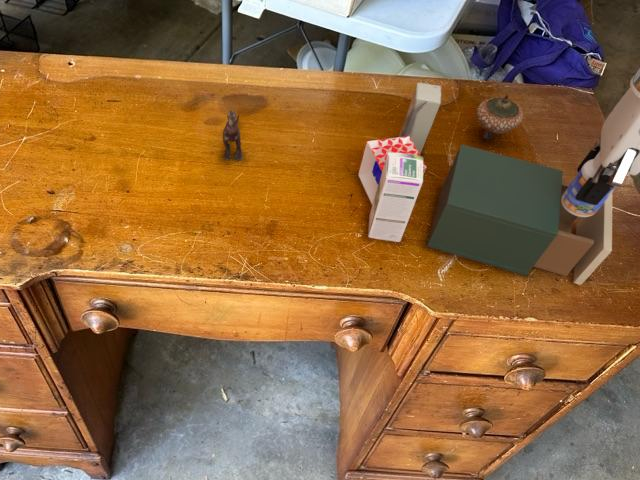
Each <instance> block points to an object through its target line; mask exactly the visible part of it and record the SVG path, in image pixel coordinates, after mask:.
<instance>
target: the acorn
mask: <svg viewBox="0 0 640 480" xmlns="http://www.w3.org/2000/svg"><path fill="white" fill-rule="evenodd" d="M508 98H509V95H508V94H506V95H505V96H504V97H499V96H498V97H496V96H495V97H491V98H488V99H486V100H485V99H484V101H482V102H481V103H480V104H479V105H478V107H477V109H476V117H477V120H478V123H479V125H480V127H481V129H482V128H483V129H484V130H486V131H485V132H484V134H483V138H484V139H492V138H493V135H494V134H497V135H501V134H506V133H508V132H510V131H513V130H514V129H516V128H517V127H518V126H519V125H520V124H521V123H522V121H523V116H524V113H523V112H524V111H523V109H522V108H521V106H520V105H519V104H518V103H516V102H515V101H513V100H511V99H508Z"/></svg>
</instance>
